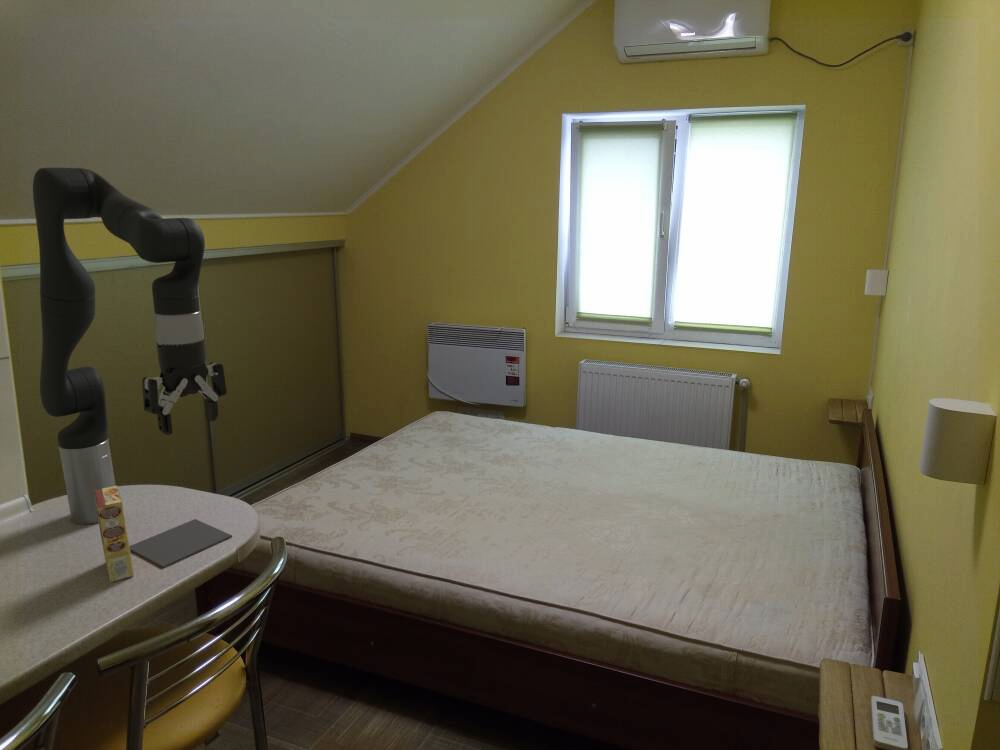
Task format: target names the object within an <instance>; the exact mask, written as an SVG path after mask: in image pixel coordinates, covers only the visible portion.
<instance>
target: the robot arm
mask: <svg viewBox="0 0 1000 750" xmlns="http://www.w3.org/2000/svg"><path fill="white" fill-rule="evenodd" d="M32 182H33V183H32V195H33V196H32V198H33V199H32V200H33V207H34V216H35V221H36V222H35V223H36V229H37V231H36V232H37V238H38V246H39V247H38V250H39V273H40V274H39V281H40V282H39V296H40V297H39V300H40V317H41V331H42V334H41V335H42V337H41V340H42V346H41V347H42V348H41V362H40V364H41V365H40V376H39V377H40V378H39V392H40V393H39V395H40V400H41V403H42V407H43V409H44V411H45V412H46V413H47V414H48V415H49V416H51V417H56V418H58V417H60V418H61V417H65V416H71V415H75V414H78V413H79V414H78V416H77V417H76V418H75V419H74V420H73V421H71V423H69V424H68V425H66V426H65V427H63V428H62V429H60V430H59V432H58V433H57V442H58V443H57V445H58V450H59V455H60V460H61V466H62V472H63V477H64V483H65V489H66V495H67V500H68V501H67V502H68V507H69V514H70V520H71V521H72V522H73V523H75V524H79V525H89V524H91V525H92V524H96V523H99V522H98V516H97V509H96V502H95V495H94V490H98V489H102V488H107V487H112V486H116V480H115V474H114V467H113V461H112V453H111V448H110V442H109V441H110V440H109V436H108V435H109V434H108V428H109V422H108V414H107V412H108V411H107V399H106V390H105V385H104V382H103V379H102V376H101V373H99V371H98V370H97V369H95V367H92V366H83V367H82V366H81V367H77V368H71V369H68V368H69V363H70V359H71V356H72V354H73V352H74V350H75V349H76V347H77V346H78V344H79V343H80V342H81V340H82V338H83V337H84V336H85V334H86V332H87V331H88V329H89V328H90V326H91V325H92V323H93V321H94V318H95V314H96V286H95V282H94V280H93V278H92V276H91V275H90V273H89V272H88V271H87V269H86V267H85V266H84V265H83V264H82V262H81V261H80V260H79V259H78V257H76V255H75V254H74V252H73V251H72V249H71V248H70V246H69V244H68V242H67V237H66V234H65V225H64V223H65V222H64V221H65V220H80V219H81V220H82V219H83V220H85V219H92V218H101V221H102V222H101V223H102V224H103V226H104V227H105V229H106V230H107V231H109V233H110V234H112V236H115V237H116V238H118V239H120V240H122V241H124V242H126V243H128V244H129V245H130V246H131V247H132V249H133V250H134V252H135V253H136V254H137V256H138V257H139V258H140V259H141V260H144V261H146V262H150V263H153V264H155V263H156V264H162V263H174V265H173V268H172V270H171V272H169V273H167V274H164V275H163V276H159V277H158V278H155V279H154V280H153V281H152V284H151V294H152V302H153V310H154V332H155V334H154V335H155V340H156V341H155V342H156V343H155V344H156V350H157V359H158V366H159V368H160V374H159V376H156V377H147V376H144V377H143V378H142V381H141V382H142V383H141V384H142V385H141V386H142V398H143V401H142V402H143V410H144V411H145V412H147V413H151V414H152V415H156V419H157V425H158V427H157V428H158V430H159V431H160V432H161V433H163V434H164V435H167V436H170V435H172V434H174V433H173V425H172V417H171V416H172V415H171V413H170V411H171V409H172V408H173V406H174V404H176V403H177V401H178V400H179V398H184V397H187V396H189V395H195V394H199V393H200V394H201V396H203V398H204V400H203V401H204V402H203V403H204V412H205V419H206V420H207V421H209V422H216V421H217V418H218V416H219V409H218V408H219V407H218V400H219V398H220V397H222V396H226V394H227V391H228V390H227V384H226V379H225V378H226V377H225V372H224V371H225V370H224V365H223V364H221V363H218V362H214V361H211V362H210V363H209V364H208V365H206V362H207V353H206V343H205V333H204V332H205V330H204V324H203V323H204V322H203V319H202V315H201V309H200V307H201V306H200V298H199V282H200V281H199V280H200V276H201V269H202V264H203V260H204V254H205V246H206V245H205V242H206V241H205V235H204V233H203V231H202V228H201V227H200V224H198V223H197V222H196V221H195V220H194V219H192V218H188V217H174V218H173V217H171V218H168V217H167V218H163V217H162V215H161V214H160V213H159V212H157V211H156V210H154V209H152V208H151V207H150V206H147V205H144V204H143V203H141V202H138V201H136V200H133V199H131V198H130V197H128V196H127V195H124V193H122V192H121V191H119V189H118V188H116V187H115V186H114V185H112V184H111V183H110V182H109V181H108V180H106V179H105V178H104V177H103V176H101V175H100V174H99V173H97V172H95V171H93V170H91V169H88V168H83V167H41V168H39V169H37V171H36V172H35V173H34V177H33V180H32ZM208 375H209V376H210V380H211V386H210V385H209V384H208V383H207V382H206V379H207V377H208ZM161 385H162V386H163V388H162V390H161V392H160V393H159V391H158V390H160V389H161Z"/></svg>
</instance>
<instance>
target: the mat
mask: <svg viewBox="0 0 1000 750" xmlns="http://www.w3.org/2000/svg"><path fill="white" fill-rule="evenodd" d="M231 538H233V535H232V534H230V533H227V532H225V531H224V530H221V529H219V528H216V527H214V526H211V525H210V524H207V523H205V522H203V521H201V520H198V519H196V518H194V519H192V520H191V519H190V521H186V522H184V523H181V524H180V525H178V526H174V527H172V528H170V529H167V530H165V531H163V532H161V533H157V534H155V535H153V536H151V537H148V538H146V539H143V540H141V541H138V542H136V543H134V544H131V545H129V547H130V552H132V553H134V554H136V555H137V556H139V557H141V558H142V559H143V558H144V559H146V560H147V561H149V562H151V563H153V564H154V565H157V566H159V567H160V568H162V569H165V568H167V567H169V566H171V565H174V564H176V563H178V562H181V561H182V560H185V559H188V558H189V557H191V556H194V555H196V554H198V553H201V552H202V551H205V550H208V549H209V548H211V547H213V546H216V545H218V544H220V543H223V542H224V541H226V540H228V539H231Z"/></svg>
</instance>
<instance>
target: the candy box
mask: <svg viewBox="0 0 1000 750" xmlns="http://www.w3.org/2000/svg"><path fill="white" fill-rule="evenodd" d="M118 488H119V487H118V485H115V486H112V487H107V488H102V489H98V490H94V495H95V502H96V509H97V516H98V522H97V523H98V527H99V532H100V533H99V534H100V538H101V543H102V549H103V555H104V560H105V563H106V564H105V565H106V568H107V569H106V570H107V575H108V577H109V581H110V583H113V582H116V581H121V580H124V579H128V578H132V577H134V575H135V574H134V569H133V563H132V554H131V551H130V547H129V546H130V542H129V536H128V530H127V524H126V523H127V522H126V518H125V511H124V506H123V502H122V497H121V495H120V490H119V489H118Z"/></svg>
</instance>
